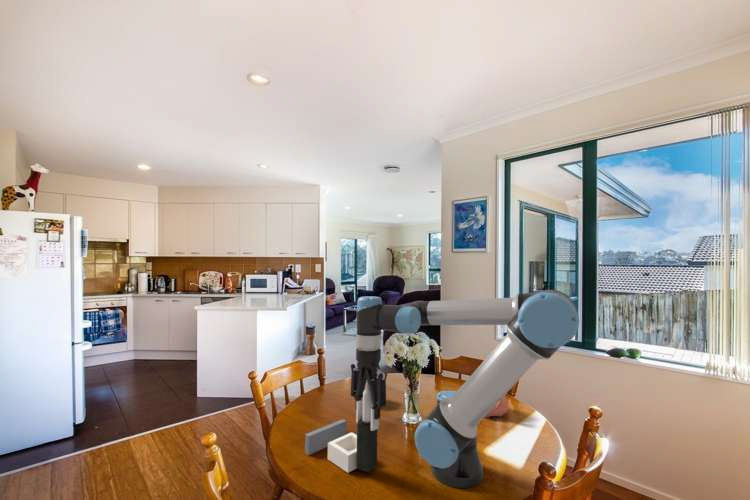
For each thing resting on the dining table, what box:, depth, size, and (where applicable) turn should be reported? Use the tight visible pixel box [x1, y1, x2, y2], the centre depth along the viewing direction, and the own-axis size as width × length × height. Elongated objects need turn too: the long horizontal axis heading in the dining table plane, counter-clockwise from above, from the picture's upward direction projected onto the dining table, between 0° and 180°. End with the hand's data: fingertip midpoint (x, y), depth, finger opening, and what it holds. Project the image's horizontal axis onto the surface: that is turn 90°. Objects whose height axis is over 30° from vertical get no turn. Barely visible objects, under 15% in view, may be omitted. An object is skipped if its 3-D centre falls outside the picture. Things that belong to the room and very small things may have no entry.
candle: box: [356, 381, 378, 473], centre depth 103 cm, size 5×5×25 cm
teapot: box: [484, 394, 509, 419], centre depth 144 cm, size 13×20×12 cm, turn 11°
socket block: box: [327, 432, 358, 474], centre depth 108 cm, size 10×10×5 cm
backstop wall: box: [304, 418, 348, 456], centre depth 117 cm, size 2×16×6 cm, turn 135°
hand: (367, 425), depth 103 cm, fingers closed on candle, 6 cm apart
